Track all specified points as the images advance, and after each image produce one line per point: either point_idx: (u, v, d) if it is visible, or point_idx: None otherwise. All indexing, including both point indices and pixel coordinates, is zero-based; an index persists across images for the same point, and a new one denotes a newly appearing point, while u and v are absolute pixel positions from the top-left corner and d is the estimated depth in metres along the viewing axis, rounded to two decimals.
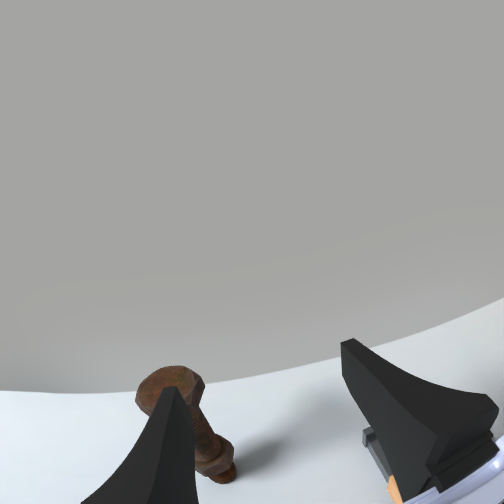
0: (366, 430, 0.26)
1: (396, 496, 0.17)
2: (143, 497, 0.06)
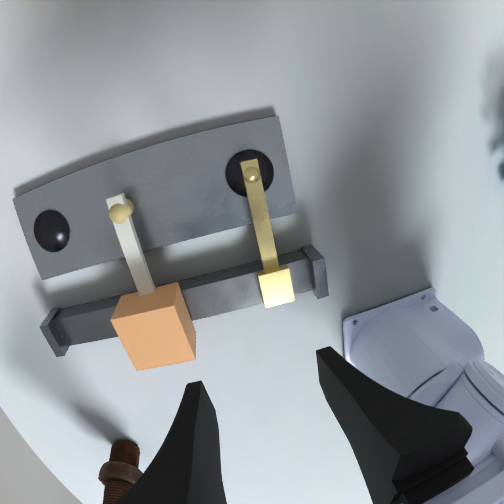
0: (57, 353, 0.19)
1: None
2: (181, 495, 0.06)
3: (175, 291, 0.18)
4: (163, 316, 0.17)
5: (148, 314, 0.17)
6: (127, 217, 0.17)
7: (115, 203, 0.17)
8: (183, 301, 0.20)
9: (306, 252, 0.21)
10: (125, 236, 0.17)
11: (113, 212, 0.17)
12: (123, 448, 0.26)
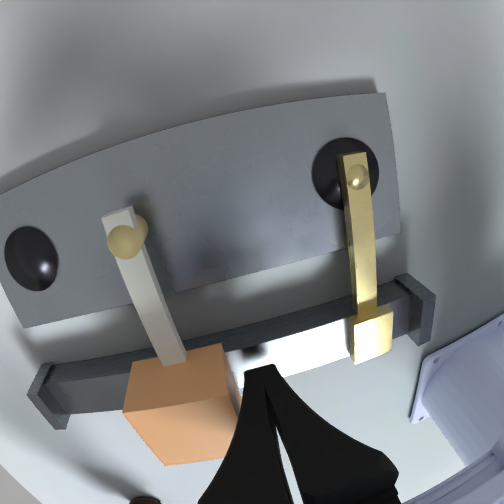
0: (55, 425, 0.12)
1: None
2: (275, 479, 0.06)
3: (222, 364, 0.11)
4: (208, 408, 0.10)
5: (184, 407, 0.10)
6: (140, 249, 0.10)
7: (118, 225, 0.10)
8: (229, 369, 0.13)
9: (406, 285, 0.14)
10: (138, 280, 0.10)
11: (115, 240, 0.10)
12: None
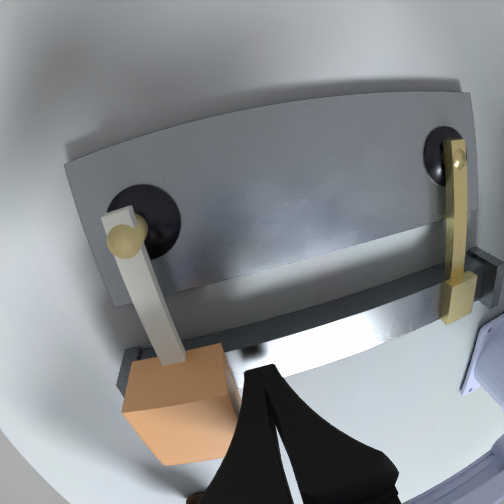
0: None
1: None
2: (275, 479, 0.06)
3: (221, 364, 0.11)
4: (208, 408, 0.10)
5: (183, 407, 0.10)
6: (139, 248, 0.10)
7: (117, 224, 0.10)
8: (229, 369, 0.13)
9: (480, 256, 0.15)
10: (137, 279, 0.10)
11: (114, 240, 0.10)
12: None
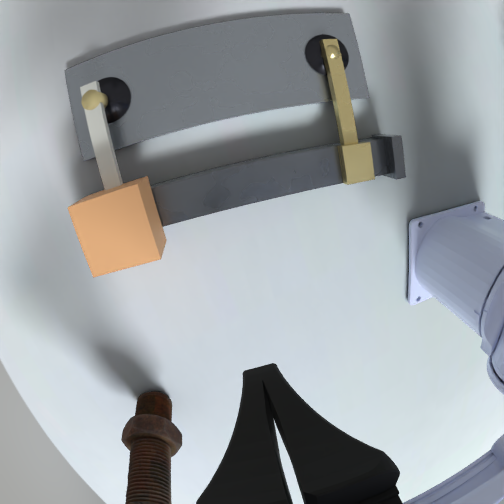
0: None
1: None
2: (274, 479, 0.06)
3: (142, 179, 0.16)
4: (124, 198, 0.14)
5: (108, 196, 0.14)
6: (99, 103, 0.14)
7: (88, 90, 0.14)
8: (152, 198, 0.17)
9: (380, 135, 0.19)
10: (95, 122, 0.15)
11: (85, 99, 0.14)
12: (153, 400, 0.24)
